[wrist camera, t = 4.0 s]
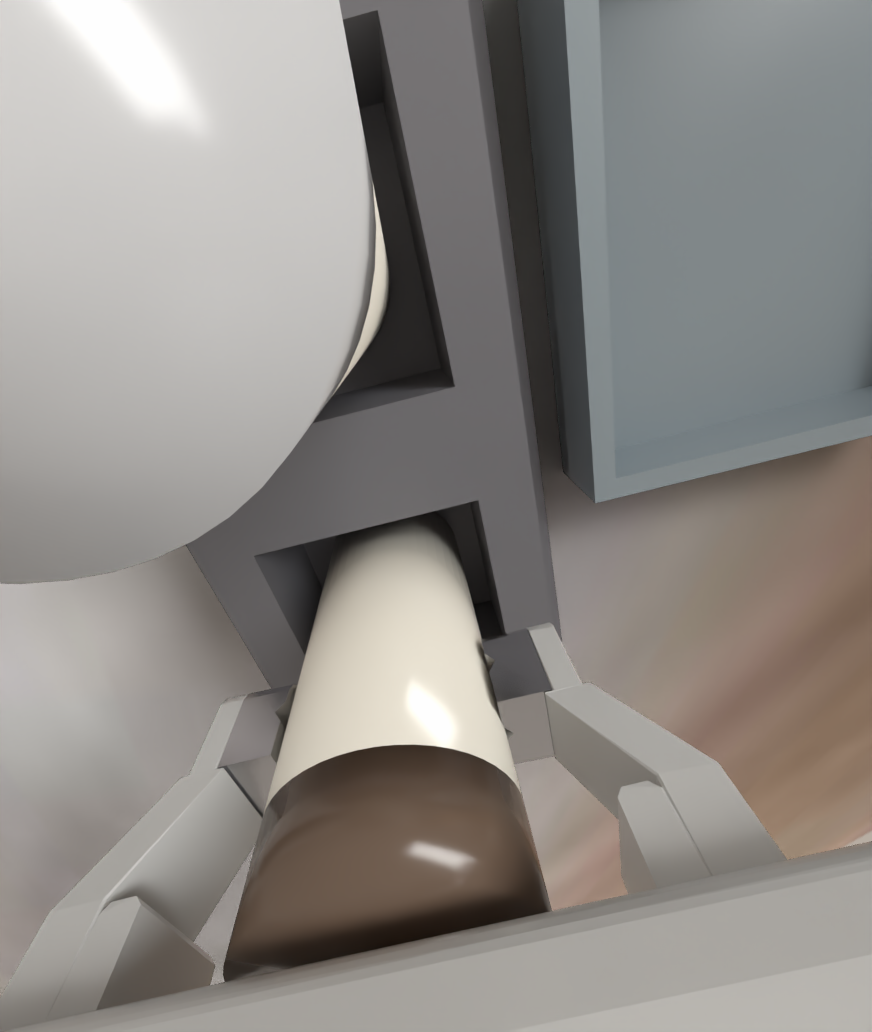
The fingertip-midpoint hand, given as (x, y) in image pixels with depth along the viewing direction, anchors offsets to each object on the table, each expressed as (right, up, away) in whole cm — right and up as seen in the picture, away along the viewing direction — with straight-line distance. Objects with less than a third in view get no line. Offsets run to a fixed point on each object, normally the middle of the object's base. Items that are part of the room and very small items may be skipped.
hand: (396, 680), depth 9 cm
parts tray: (+9, +12, +2) cm, 15 cm away
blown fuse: (0, +2, +5) cm, 5 cm away
